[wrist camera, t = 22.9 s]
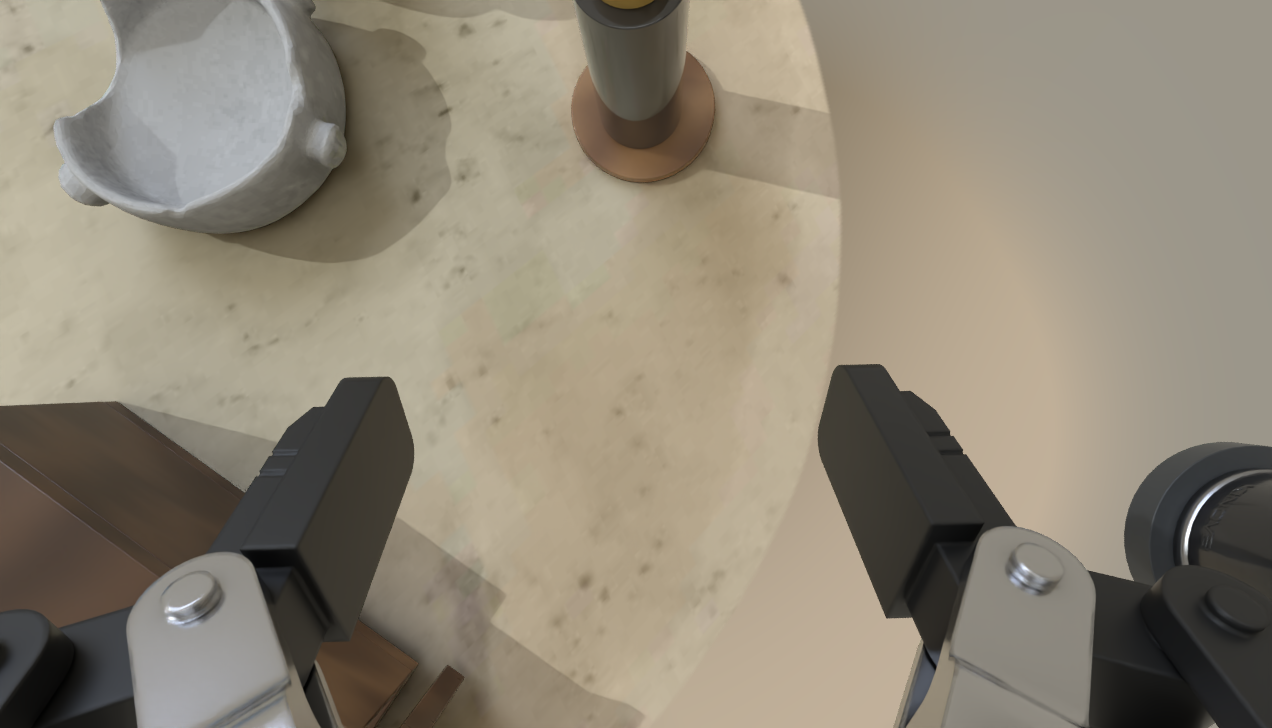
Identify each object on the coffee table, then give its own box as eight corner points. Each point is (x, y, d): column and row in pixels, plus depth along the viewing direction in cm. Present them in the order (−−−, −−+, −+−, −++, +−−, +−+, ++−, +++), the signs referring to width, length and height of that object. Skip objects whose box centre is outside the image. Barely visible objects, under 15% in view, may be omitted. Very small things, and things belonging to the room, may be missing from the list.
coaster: (741, 91, 32) (743, 85, 32) (662, 209, 32) (662, 206, 32) (624, 16, 33) (623, 9, 32) (545, 133, 33) (543, 128, 32)
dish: (130, 246, 34) (38, 223, 29) (129, 14, 34) (37, -49, 29) (372, 236, 33) (320, 211, 28) (367, -1, 33) (315, -68, 28)
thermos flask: (698, 96, 32) (720, -75, 20) (651, 165, 32) (645, 36, 20) (629, 52, 32) (609, -143, 20) (583, 120, 32) (536, -34, 20)
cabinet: (317, 544, 33) (194, 603, 24) (194, 727, 33) (28, 851, 24) (116, 400, 34) (-71, 408, 25) (-3, 579, 34) (-232, 648, 25)
